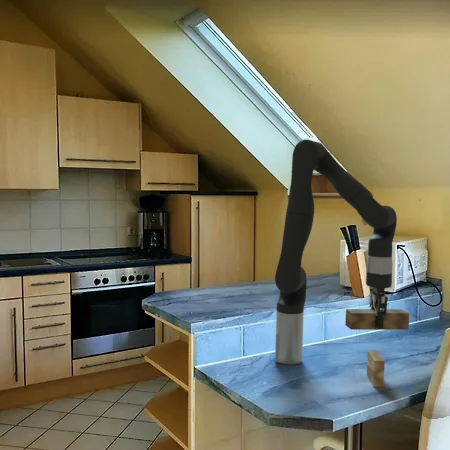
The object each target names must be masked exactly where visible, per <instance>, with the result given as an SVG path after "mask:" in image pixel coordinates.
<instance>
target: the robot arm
mask: <svg viewBox="0 0 450 450" xmlns="http://www.w3.org/2000/svg"><path fill="white" fill-rule="evenodd" d="M291 158H292V159H291V161H292V162H291V179H290V186H289V193H288V200H287V207H286V213H285V217H284V227H283V235H282V244H281V249H280V250H281V251H280V256H279V259H278V263H277V268H276V270H275V275H274V282H275V286H276V287H277V289H278V291H279V295H278V296H279V297H278V299H277V302H276V317H275V318H276V321H275V342H274V345H275V348H274V351H275V352H274V362H275V363H279V364H283V365H298V364H301V363H302V362H303V347H304V346H303V344H304V343H303V341H304V338H303V337H304V316H305V315H304V311H305V309H304V308H305V304H306V298H307V285H308V284H307V279H308V278H307V273H306V271H305V269H304V268H303V266H302V258H303V254H304V251H305V248H306V245H307V243H308V240H309V238H310V235H311V233H312V230H313V229H312V228H313V223H314V217H315V200H314V195H313V189H312V182H313V181H312V180H313V174H314V171H315V172H317V173H318V174H320V175H322V176H323V177H324V178H325V179H326V180H328V181H329V182H330V184H331V185H332V186H333V189H335V191H336V192H337V194H338V195H339V196H340V197H341V198H342V199H343V200H344V201H346V202H347V204H349V205H350V206H351V207H352V208H353V209H354V210H356V212H357V213H358V215H359V216H360V217H361V219H362V220H363V221H364V222H365V223H366V224H367V225H368V226H370V227H371V228H373V231H372V235H371V237H370V238H369V239H368V248H367V260H366V274H365V275H366V276H365V285H366V286H367V287H369V308H370V309H375V315H376V320H375V327H376V328H377V329H382V328H383V320H384V316H386V311H387V309H388V299H389V298H388V296H387V293H385V292H386V291H385V289H390V288H392V287H393V284H392V283H393V265H394V263H393V241H394V238H395V233H396V228H397V223H398V222H397V221H398V220H397V219H398V218H397V217H398V216H397V213H396V211H395V209H394V208H393V207H391V206H390V205H382V204H380V202H378V201H377V200H376V199H375V198H374V195H373V193H372V192H371V191H370V190H369V189H368V187H366V186H364V185H363V184H362V183H361V182H360V181H358V180H357V179H356V178H355V177H354V176H352V174H351V173H349V172H348V171H347V170H346V169H344V167H342V165H340V163H338V161H337V160H336V159H335V158H334V157H333V156H332V154H331V153H330V151H329V150H328V149H327V148H326V147H325V145H323V144H322V143H321V142H318V141H315V140H312V139H306V138H304V139H302V140H299V141H298V142H297V143H296V144H295V146H294V148H293V152H292V157H291ZM380 309H382V311H380Z"/></svg>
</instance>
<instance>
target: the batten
mask: <svg viewBox="0 0 450 450" xmlns="http://www.w3.org/2000/svg"><path fill="white" fill-rule="evenodd" d="M380 311H382V309H380ZM375 320H376V315H375V309H371V308H370V309H369V308H367V309H366V308H363V309H362V308H360V309H359V308H355V309H354V308H349V309H348V308H346V309H345V321H344V322H345V323H344V324H345V326H346V327H347V328H349V329H350V330H361V331H362V330H363V331H364V330H367V331H368V330H372V331H373V330H374V331H375V330H389V331H391V330H395V331H396V330H397V331H398V330H404V331H405V330H406V331H407V330H410V329H409V328H410V326H409V325H410V313H409V312H408V311H406V310H404V309H399V308H398V309H395V308H394V309H393V308H387V311H386V316H384V320H383V328H382V329H377V328H376V327H375Z"/></svg>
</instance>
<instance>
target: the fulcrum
mask: <svg viewBox="0 0 450 450" xmlns="http://www.w3.org/2000/svg"><path fill="white" fill-rule="evenodd" d="M366 359H367V360H366V361H367V362H366V363H367V364H366V377H368V380H369V381H370V384H371V385H372V387H374V388H384V385H385V384H384V383H385V359H384V358H383V356H382V355H381V353H380V352H379V350H376V349H375V350H374V349H367V358H366Z"/></svg>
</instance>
